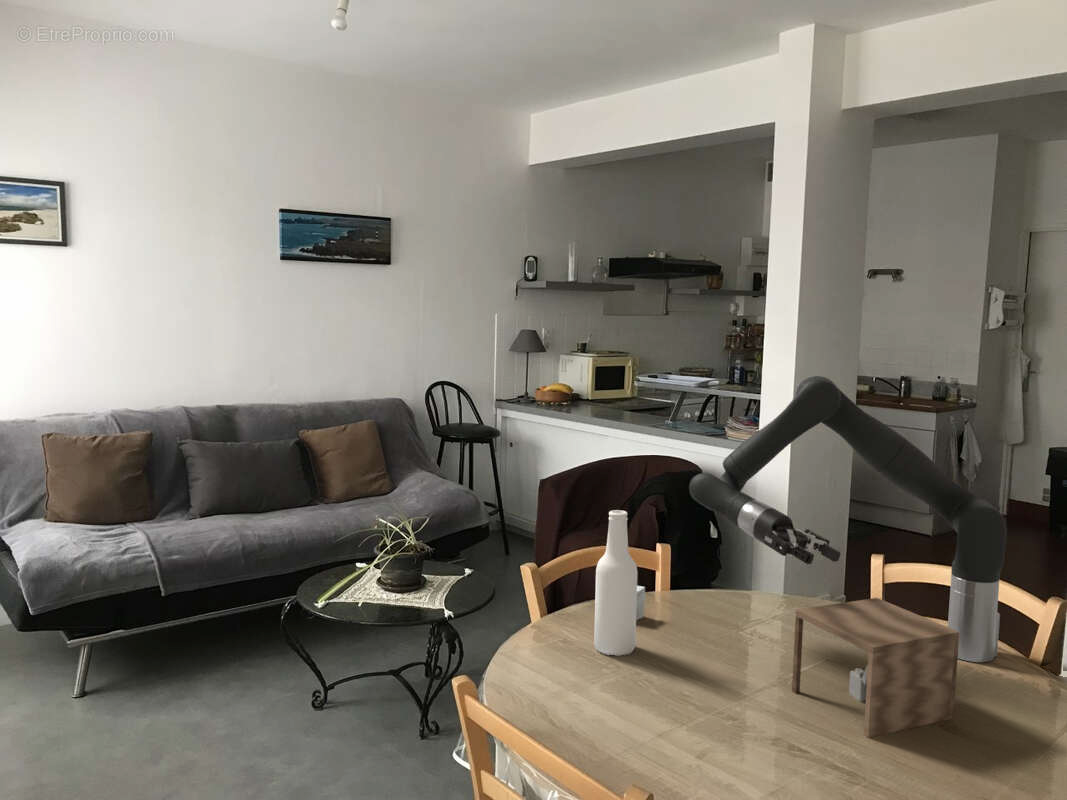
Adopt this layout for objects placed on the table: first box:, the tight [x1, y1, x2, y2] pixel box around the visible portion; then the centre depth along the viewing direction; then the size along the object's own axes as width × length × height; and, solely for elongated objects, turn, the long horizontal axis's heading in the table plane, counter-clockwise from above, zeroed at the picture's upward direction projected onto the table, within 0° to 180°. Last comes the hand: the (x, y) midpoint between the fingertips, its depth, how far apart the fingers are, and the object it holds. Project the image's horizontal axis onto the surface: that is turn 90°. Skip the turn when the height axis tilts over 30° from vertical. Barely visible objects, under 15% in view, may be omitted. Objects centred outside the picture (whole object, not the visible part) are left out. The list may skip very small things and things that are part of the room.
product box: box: [636, 585, 646, 621], centre depth 212 cm, size 6×6×7 cm
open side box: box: [791, 597, 959, 738], centre depth 168 cm, size 20×20×16 cm
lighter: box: [848, 664, 868, 703], centre depth 170 cm, size 7×2×8 cm, turn 10°
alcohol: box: [593, 509, 638, 657], centre depth 192 cm, size 9×9×30 cm
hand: (825, 558), depth 179 cm, fingers open, 8 cm apart
